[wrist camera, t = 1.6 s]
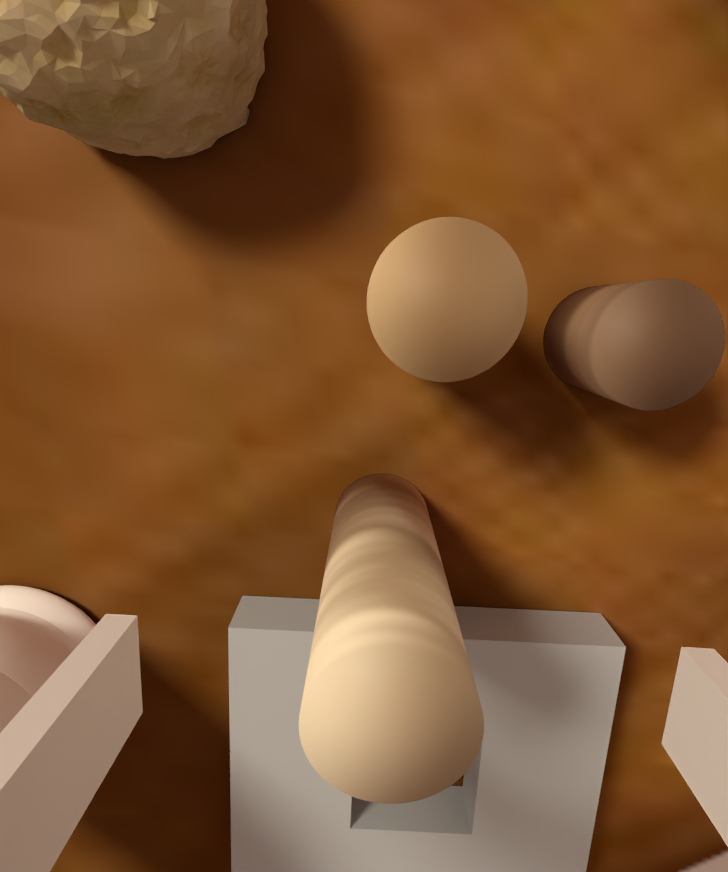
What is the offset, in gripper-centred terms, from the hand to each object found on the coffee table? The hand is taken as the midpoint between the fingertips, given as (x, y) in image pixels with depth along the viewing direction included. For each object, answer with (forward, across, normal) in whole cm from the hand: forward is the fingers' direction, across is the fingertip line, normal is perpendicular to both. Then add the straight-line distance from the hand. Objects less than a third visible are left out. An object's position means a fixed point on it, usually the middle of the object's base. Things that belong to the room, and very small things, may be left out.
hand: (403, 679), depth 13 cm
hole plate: (+10, +2, -11) cm, 15 cm away
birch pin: (+10, 0, 0) cm, 10 cm away
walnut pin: (+11, +8, +8) cm, 15 cm away
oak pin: (+10, 0, +9) cm, 14 cm away
